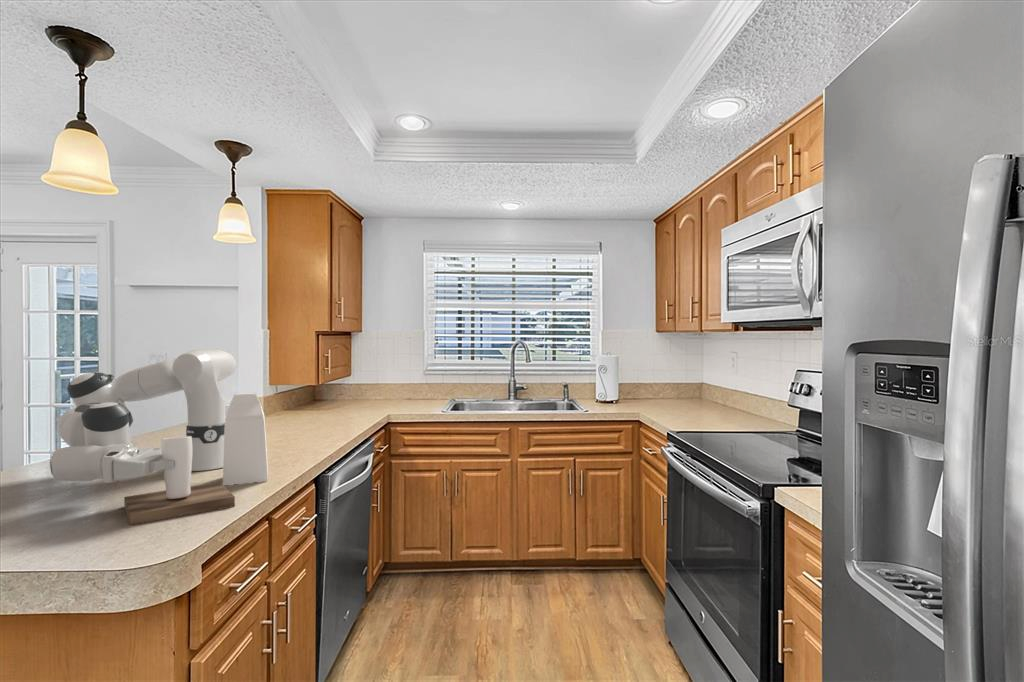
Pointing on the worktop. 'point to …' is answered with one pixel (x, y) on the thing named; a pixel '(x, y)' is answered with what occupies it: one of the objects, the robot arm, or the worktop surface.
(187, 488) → the drinking glass
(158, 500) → the walnut board
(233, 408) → the milk
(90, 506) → the worktop surface
